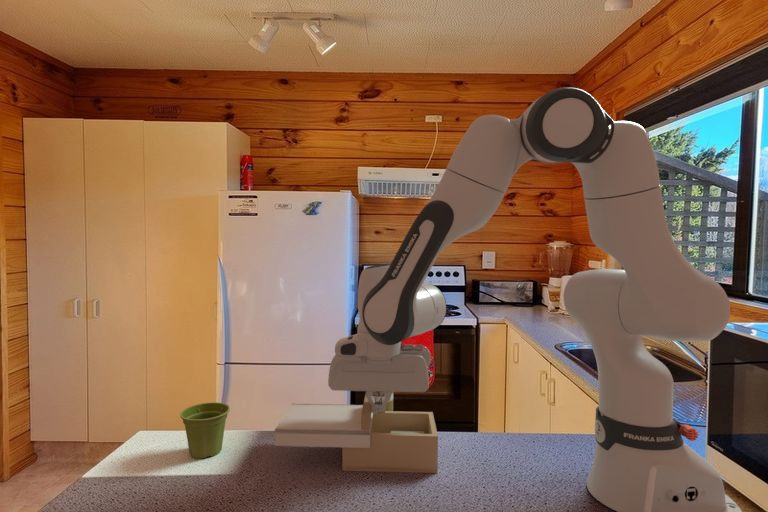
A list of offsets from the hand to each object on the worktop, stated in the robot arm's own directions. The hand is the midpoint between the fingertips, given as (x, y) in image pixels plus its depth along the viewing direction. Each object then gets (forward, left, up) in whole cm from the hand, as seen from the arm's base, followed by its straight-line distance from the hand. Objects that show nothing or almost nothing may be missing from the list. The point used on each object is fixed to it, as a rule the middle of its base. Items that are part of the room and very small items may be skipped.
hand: (378, 411), depth 88 cm
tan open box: (-3, 0, -9) cm, 9 cm away
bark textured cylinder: (0, -22, -9) cm, 24 cm away
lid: (+10, 0, -4) cm, 11 cm away
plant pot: (+35, 0, -9) cm, 37 cm away
